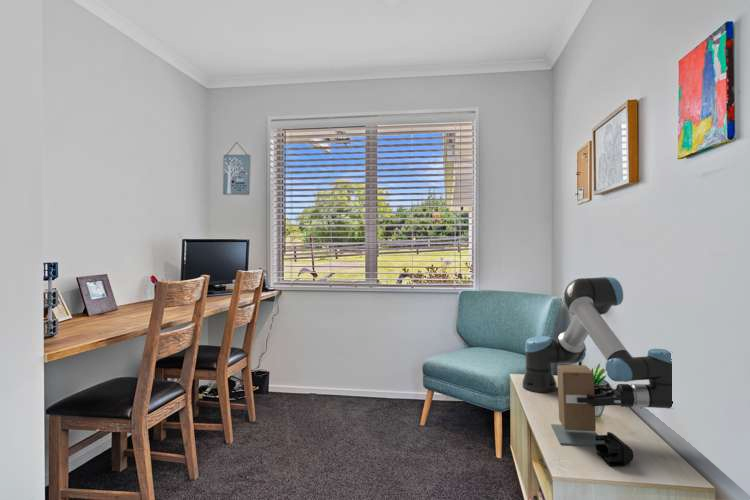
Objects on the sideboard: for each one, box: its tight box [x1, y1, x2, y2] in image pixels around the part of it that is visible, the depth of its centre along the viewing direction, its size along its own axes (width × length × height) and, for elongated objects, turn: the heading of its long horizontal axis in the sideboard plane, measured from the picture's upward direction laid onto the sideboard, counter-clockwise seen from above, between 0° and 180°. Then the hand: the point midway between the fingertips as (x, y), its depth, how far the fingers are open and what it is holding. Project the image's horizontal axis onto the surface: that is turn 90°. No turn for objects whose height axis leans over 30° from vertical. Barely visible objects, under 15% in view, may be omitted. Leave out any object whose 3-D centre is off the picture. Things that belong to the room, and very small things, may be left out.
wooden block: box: [556, 364, 597, 431], centre depth 158 cm, size 10×10×20 cm
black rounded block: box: [595, 431, 635, 468], centre depth 140 cm, size 10×7×7 cm
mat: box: [550, 423, 604, 447], centre depth 159 cm, size 16×14×1 cm
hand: (562, 393), depth 159 cm, fingers closed on wooden block, 10 cm apart
